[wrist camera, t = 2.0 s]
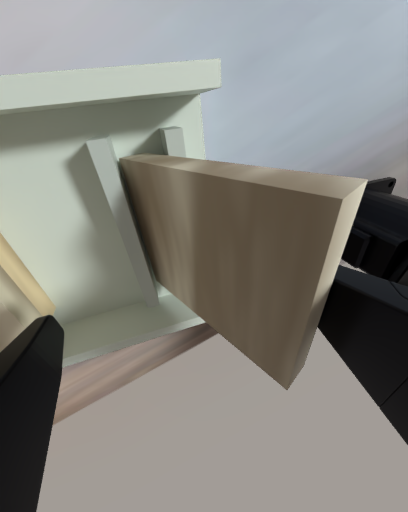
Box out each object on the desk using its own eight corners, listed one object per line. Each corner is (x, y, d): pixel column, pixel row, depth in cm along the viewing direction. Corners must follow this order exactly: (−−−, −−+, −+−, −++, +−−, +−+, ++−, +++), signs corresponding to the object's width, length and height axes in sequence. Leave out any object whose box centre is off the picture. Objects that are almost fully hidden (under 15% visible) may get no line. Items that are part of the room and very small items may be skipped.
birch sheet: (143, 152, 11) (368, 179, 5) (172, 270, 16) (303, 365, 9) (118, 158, 10) (343, 199, 4) (156, 280, 15) (286, 390, 9)
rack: (192, 75, 11) (220, 58, 8) (212, 280, 19) (230, 314, 16) (-300, 119, 7) (-623, 122, 4) (-19, 345, 15) (-57, 405, 12)
